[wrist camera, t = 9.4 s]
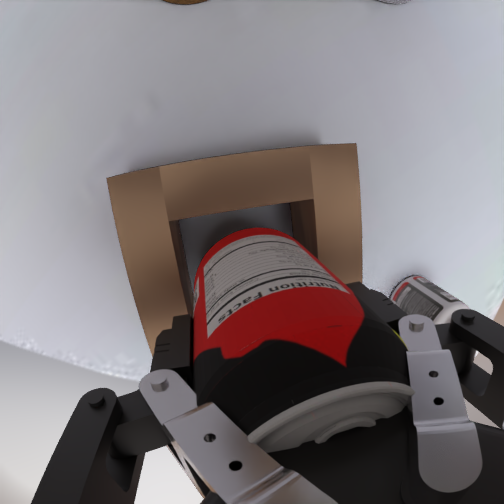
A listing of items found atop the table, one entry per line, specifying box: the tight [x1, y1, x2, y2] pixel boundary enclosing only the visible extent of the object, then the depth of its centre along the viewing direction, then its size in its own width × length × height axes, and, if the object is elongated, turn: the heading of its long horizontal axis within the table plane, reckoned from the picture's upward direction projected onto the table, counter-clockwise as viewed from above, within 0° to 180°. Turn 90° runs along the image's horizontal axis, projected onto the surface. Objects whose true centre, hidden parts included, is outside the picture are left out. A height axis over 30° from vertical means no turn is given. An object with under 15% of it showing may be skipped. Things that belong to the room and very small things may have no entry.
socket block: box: [107, 143, 362, 356], centre depth 19 cm, size 13×13×5 cm
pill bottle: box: [390, 276, 478, 358], centre depth 22 cm, size 5×5×8 cm
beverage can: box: [193, 228, 415, 453], centre depth 12 cm, size 6×6×12 cm
